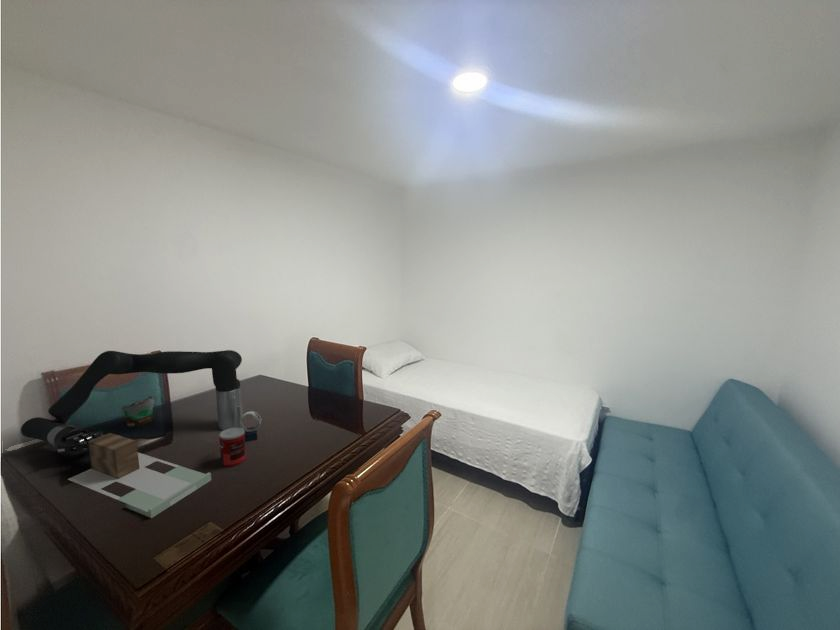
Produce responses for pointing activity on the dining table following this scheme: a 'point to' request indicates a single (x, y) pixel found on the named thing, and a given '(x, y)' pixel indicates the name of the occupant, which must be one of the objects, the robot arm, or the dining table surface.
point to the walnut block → (114, 455)
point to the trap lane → (148, 485)
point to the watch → (252, 432)
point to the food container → (139, 412)
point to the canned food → (232, 446)
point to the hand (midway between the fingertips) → (96, 446)
